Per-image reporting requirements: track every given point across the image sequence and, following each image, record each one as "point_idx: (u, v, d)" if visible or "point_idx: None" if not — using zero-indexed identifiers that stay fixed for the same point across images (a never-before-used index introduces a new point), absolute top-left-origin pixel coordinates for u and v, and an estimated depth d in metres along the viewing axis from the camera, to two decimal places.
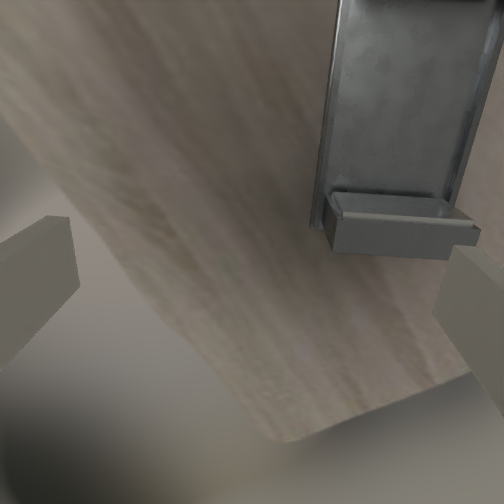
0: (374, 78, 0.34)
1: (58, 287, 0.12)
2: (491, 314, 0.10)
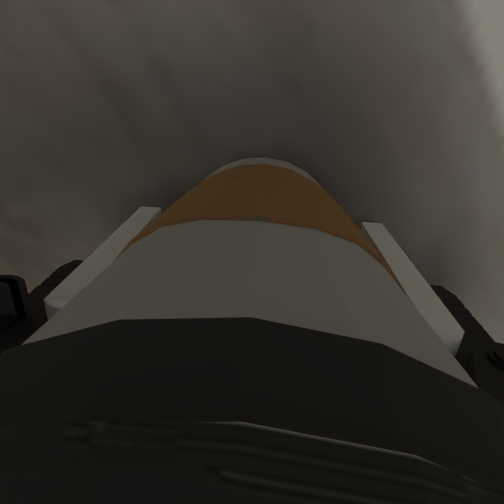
0: None
1: None
2: None
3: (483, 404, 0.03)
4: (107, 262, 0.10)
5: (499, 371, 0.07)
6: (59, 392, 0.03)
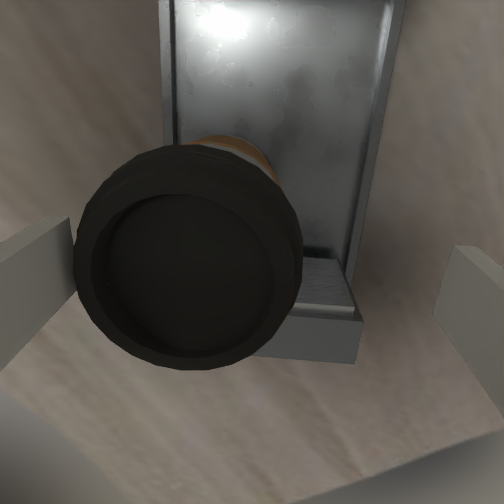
0: (226, 95, 0.24)
1: (58, 287, 0.12)
2: (490, 313, 0.10)
3: (254, 166, 0.13)
4: None
5: None
6: (155, 154, 0.12)
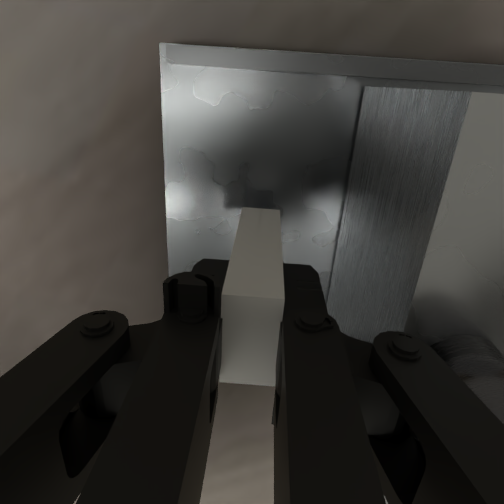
0: None
1: None
2: None
3: None
4: (251, 260, 0.10)
5: (303, 334, 0.08)
6: None
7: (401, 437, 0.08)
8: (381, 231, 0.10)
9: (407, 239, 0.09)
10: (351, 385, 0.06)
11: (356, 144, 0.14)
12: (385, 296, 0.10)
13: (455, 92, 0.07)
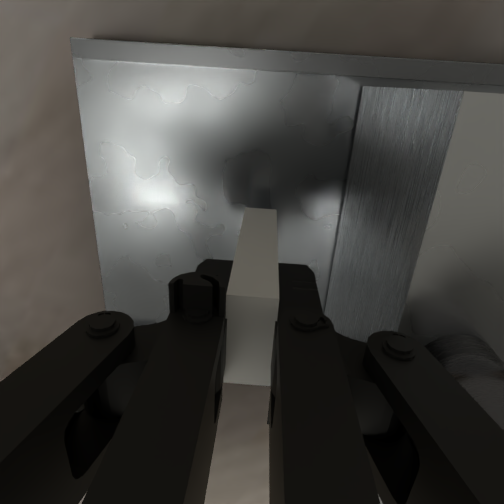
0: (326, 292, 0.18)
1: None
2: None
3: None
4: (255, 260, 0.10)
5: (298, 334, 0.08)
6: None
7: (395, 436, 0.08)
8: (377, 230, 0.10)
9: (402, 238, 0.09)
10: (346, 384, 0.06)
11: (354, 144, 0.14)
12: (381, 296, 0.10)
13: (448, 91, 0.07)
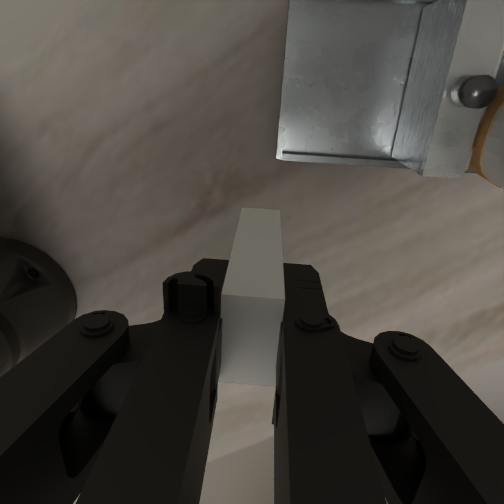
0: (397, 123, 0.34)
1: None
2: None
3: None
4: (251, 260, 0.10)
5: (304, 334, 0.08)
6: None
7: (401, 437, 0.08)
8: (436, 55, 0.27)
9: (449, 44, 0.25)
10: (351, 385, 0.06)
11: (418, 36, 0.31)
12: (439, 74, 0.26)
13: None
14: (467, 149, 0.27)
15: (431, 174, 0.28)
